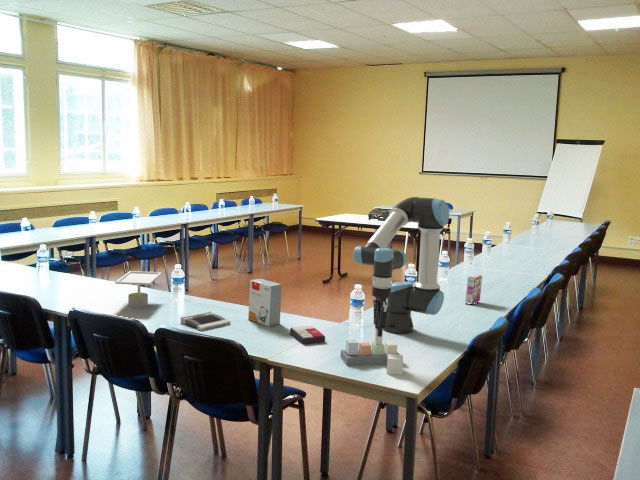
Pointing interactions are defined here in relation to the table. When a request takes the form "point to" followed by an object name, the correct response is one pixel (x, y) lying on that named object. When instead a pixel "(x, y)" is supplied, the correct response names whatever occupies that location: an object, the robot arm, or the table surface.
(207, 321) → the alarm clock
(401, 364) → the pale grey cube
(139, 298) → the solar panel model
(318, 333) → the calculator
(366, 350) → the key terracotta
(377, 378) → the table surface
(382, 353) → the key green
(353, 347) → the key bluegrey
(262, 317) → the hard drive box
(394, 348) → the key ivory
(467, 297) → the candy bar box
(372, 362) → the key panel
